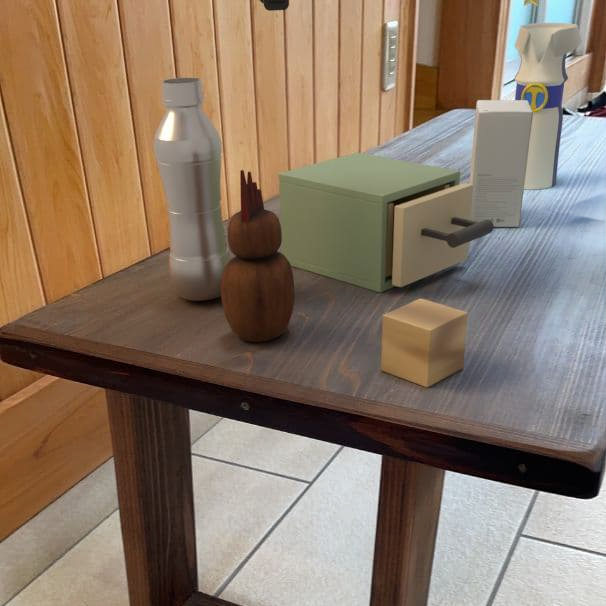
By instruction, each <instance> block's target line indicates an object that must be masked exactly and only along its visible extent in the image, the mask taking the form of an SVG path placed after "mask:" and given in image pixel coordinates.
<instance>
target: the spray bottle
mask: <svg viewBox="0 0 606 606" xmlns="http://www.w3.org/2000/svg"><path fill="white" fill-rule="evenodd" d="M531 3H532V4H533V5H535V7H539V0H524V1H523V7H524V6H526V5H527V6H528V5H529V4H531ZM582 42H583V39H582V36H581V33H580V30H579V26H578V24H575V23H568V22H535V23H534V22H533V23H526V24H523V25H521V26H519V29H518V33H517V36H516V39H515V42H514V47H515V49H516V50H517V53H518V55H519V58H520V59H521V60H520V65H519V69H518V71H517V73H516V74H515V76H514V80H515V82H516V87H515V95H514V100H528V102H529V104H530V107H531V109H532V111H533V117H532V124H531V132H530V141H529V149H528V157H527V166H526V174H525V182H524V190H544V189H550V188H553V187H555V186H556V185H557V178H558V166H559V156H560V155H559V154H560V147H561V138H562V131H563V122H564V111H563V106H562V104H563V98H564V97H563V96H564V90H565V83H566V82H567V81H568V80H569V76H568V73H567V70H566V60H567V57H568V56H567V55H568V54H569V53H571V52H573V51H574V50H577V48H578V47H579V46H580V45H581V44H582Z"/></svg>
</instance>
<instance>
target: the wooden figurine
mask: <svg viewBox="0 0 606 606" xmlns="http://www.w3.org/2000/svg"><path fill="white" fill-rule="evenodd" d="M239 173H240V175H239V176H240V179H239V181H240V210H239V211H237V212H235V213H234V214H232V215H231V218H230V219H229V221H228V224H227V225H228V226H227V243H228V249H229V250H230V252H231V253H232V254H233V257H232V258H231V260H230V261H229V262H228V263H227V265H226V266H225V267H224V270H223V274H222V277H221V296H220V297H221V305H222V310H223V312H224V313H223V314H224V316H225V319H226V321H227V322H228V323H227V324H228V325H229V327H230V328H231V330H232V332H233V333H234V334H235V336H237V337H239V338H240V339H241V340H242V341H246V342H250V343H260V342H261V343H262V342H266V341H269V340H270V341H271V340H273V339H276V338H278V337H280V336H281V335H282V334H283V333H285V331H286V329H287V328H288V326H289V323H290V321H291V319H292V316H293V315H292V314H293V311H294V307H295V306H294V305H295V298H296V287H295V278H294V272H293V268H292V266H291V265H290V262H289V261H288V260H287V258H286V257H285V256H284V255H283V254H282V251H279V250H280V248H281V247H282V243H281V242H282V232H281V220H280V219H279V216H277V214H275V212H274V211H271V210H268V209H265V205H264V199H263V194H262V190H261V189H260V188H258V184H257V182H256V181H253V176H252V172H251V171H249V170H248V171H247V175H245V174H246V173H245V170H244V169H240V172H239ZM246 177H247V178H246Z"/></svg>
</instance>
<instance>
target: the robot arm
mask: <svg viewBox="0 0 606 606" xmlns="http://www.w3.org/2000/svg"><path fill="white" fill-rule="evenodd" d="M259 1H260V3H262V4H263V7H264V9H265V10H266V11H285V10H287V9H288V8H289V6H290V0H259Z"/></svg>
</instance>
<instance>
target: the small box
mask: <svg viewBox="0 0 606 606" xmlns="http://www.w3.org/2000/svg"><path fill="white" fill-rule="evenodd" d="M474 117H475V118H474V126H473V128H474V129H473V140H472V150H471V160H470V171H469V172H470V173H469V183H468V184H473V196H472V208H471V219H470V220H471V221H475V222H481V221H484V220H486V219H488V220H491V221H492V223H493V226H494V228H518V227H520V223H521V215H522V207H523V198H524V190H525V189H524V182H525V174H526V166H527V157H528V149H529V141H530V132H531V124H532V117H533V111H532V109H531V107H530V104H529V102H528V100H515V99H478V100H477V101H476V106H475V116H474Z"/></svg>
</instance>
